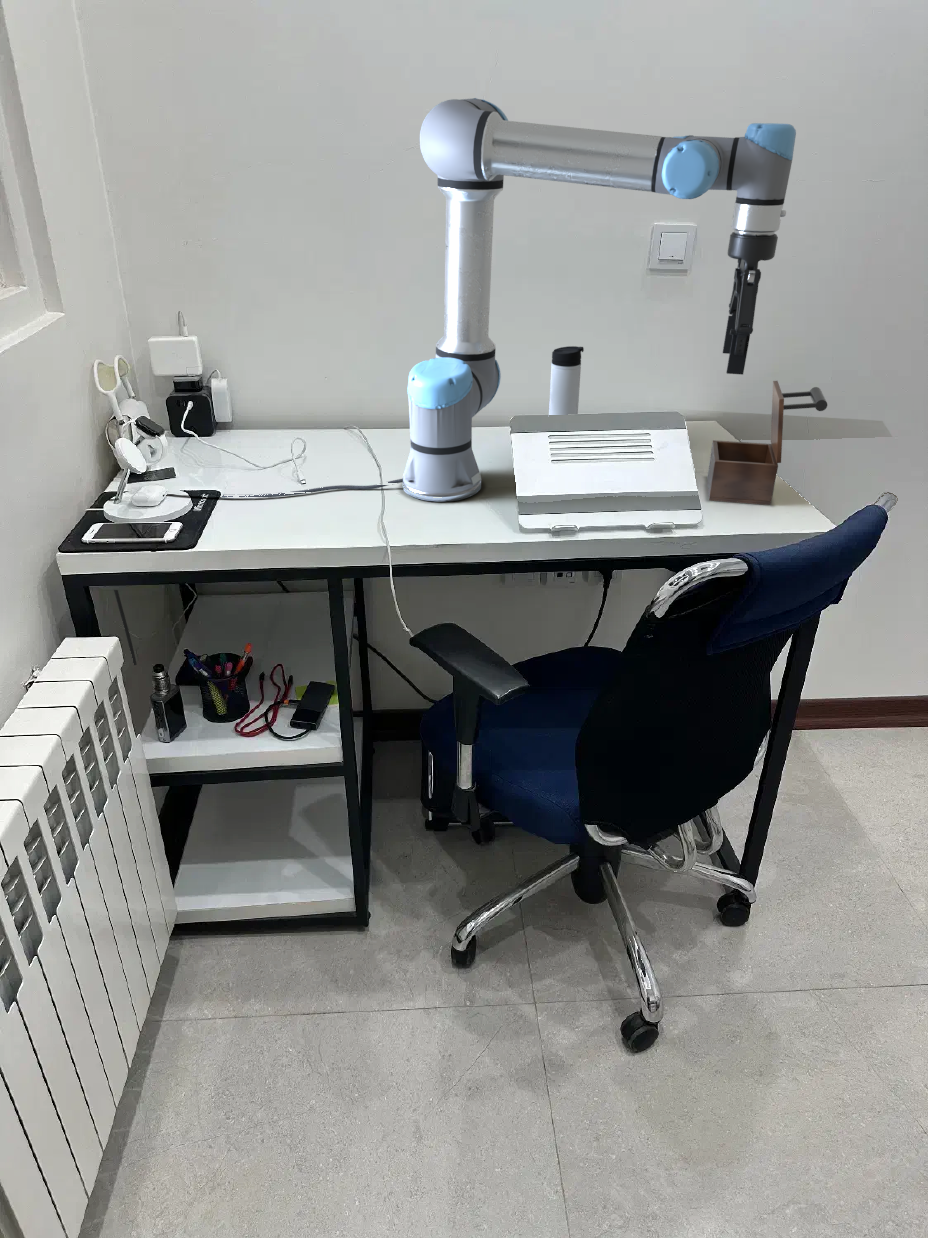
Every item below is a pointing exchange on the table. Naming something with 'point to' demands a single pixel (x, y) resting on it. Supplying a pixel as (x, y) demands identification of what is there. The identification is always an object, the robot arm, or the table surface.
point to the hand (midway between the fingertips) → (732, 363)
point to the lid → (779, 407)
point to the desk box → (741, 472)
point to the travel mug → (565, 380)
